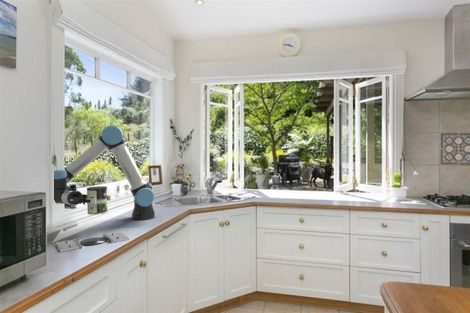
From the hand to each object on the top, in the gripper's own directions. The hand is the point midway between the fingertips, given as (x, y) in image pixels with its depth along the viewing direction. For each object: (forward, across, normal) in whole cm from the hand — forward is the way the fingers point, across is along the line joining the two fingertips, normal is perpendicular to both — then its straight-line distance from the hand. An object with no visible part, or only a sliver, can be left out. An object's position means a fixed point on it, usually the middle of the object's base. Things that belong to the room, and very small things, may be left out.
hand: (103, 199), depth 172 cm
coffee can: (-4, 0, -8) cm, 9 cm away
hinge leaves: (+6, +14, -19) cm, 24 cm away
